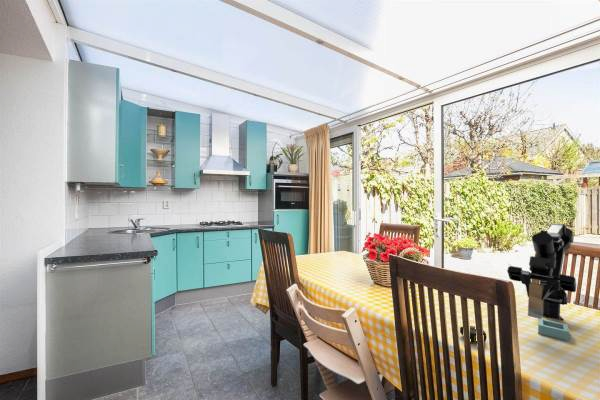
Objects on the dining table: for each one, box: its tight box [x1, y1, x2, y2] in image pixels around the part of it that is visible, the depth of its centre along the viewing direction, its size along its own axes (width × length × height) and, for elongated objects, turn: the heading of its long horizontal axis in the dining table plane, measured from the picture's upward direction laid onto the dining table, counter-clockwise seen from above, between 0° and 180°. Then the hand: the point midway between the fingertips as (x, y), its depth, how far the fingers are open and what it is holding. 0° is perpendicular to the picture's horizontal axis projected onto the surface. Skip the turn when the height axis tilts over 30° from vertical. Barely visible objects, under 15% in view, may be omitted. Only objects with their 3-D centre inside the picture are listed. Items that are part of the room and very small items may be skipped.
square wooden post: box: [527, 282, 544, 320], centre depth 103 cm, size 4×4×11 cm
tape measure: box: [459, 325, 487, 344], centre depth 97 cm, size 7×7×4 cm
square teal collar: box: [537, 318, 570, 342], centre depth 105 cm, size 8×8×3 cm
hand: (535, 298), depth 102 cm, fingers closed on square wooden post, 3 cm apart
